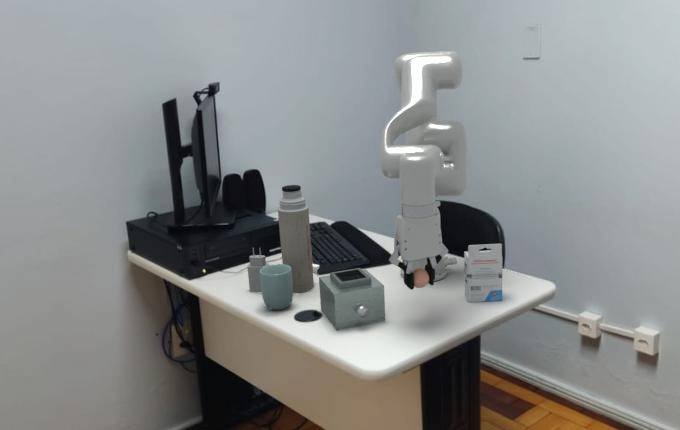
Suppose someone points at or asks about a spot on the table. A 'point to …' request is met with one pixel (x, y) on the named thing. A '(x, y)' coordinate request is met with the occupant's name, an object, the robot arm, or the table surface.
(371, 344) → the table surface
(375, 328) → the table surface
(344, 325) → the box
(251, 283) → the power adapter
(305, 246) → the thermos bottle
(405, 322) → the table surface
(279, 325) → the table surface
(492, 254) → the ink box
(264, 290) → the cup
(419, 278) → the peach sphere
